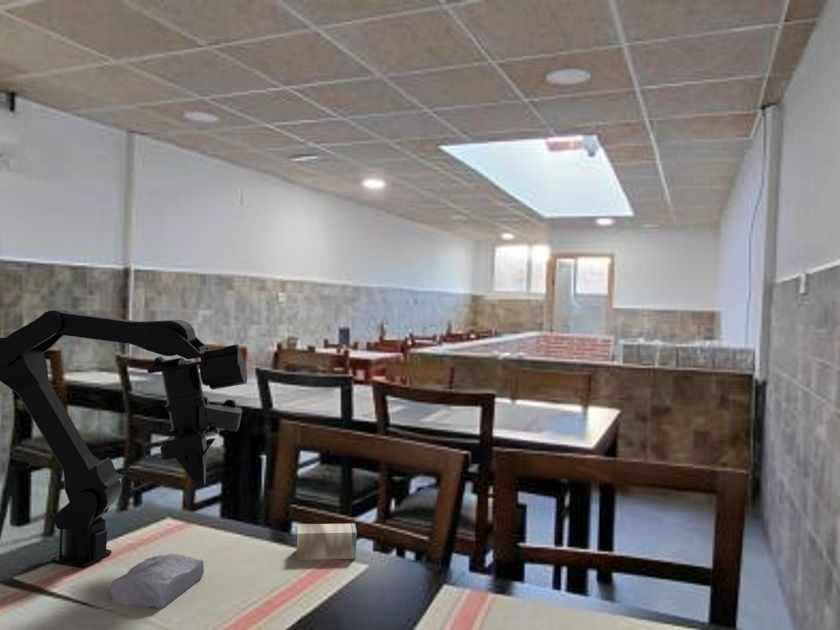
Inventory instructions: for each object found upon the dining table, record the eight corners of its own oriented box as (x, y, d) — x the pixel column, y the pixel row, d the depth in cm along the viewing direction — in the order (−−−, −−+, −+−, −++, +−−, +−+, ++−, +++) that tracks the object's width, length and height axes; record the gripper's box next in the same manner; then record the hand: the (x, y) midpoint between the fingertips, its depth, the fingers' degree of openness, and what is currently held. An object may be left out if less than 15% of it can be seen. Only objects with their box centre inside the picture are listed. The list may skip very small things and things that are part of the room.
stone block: (103, 616, 91) (167, 611, 90) (99, 581, 92) (162, 576, 90) (152, 584, 103) (210, 579, 101) (149, 553, 103) (206, 548, 102)
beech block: (297, 533, 109) (356, 532, 111) (298, 524, 114) (354, 523, 115) (296, 559, 109) (355, 558, 111) (297, 549, 114) (353, 548, 115)
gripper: (226, 393, 99) (244, 492, 100) (240, 379, 118) (255, 462, 118) (151, 407, 97) (170, 507, 98) (177, 391, 116) (192, 475, 117)
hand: (201, 486), depth 108 cm, fingers closed
